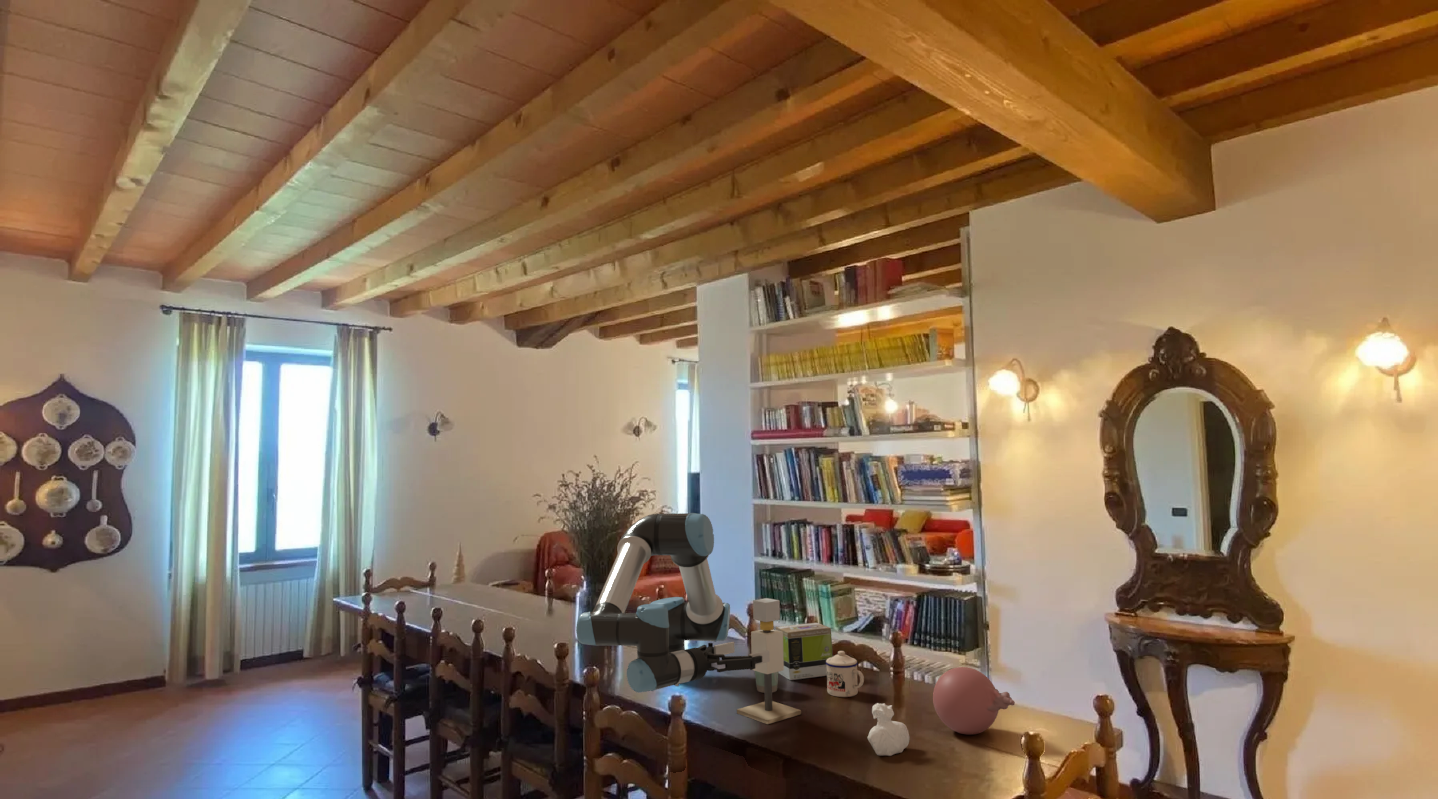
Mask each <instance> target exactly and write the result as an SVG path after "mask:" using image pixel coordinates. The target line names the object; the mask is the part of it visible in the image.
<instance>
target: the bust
mask: <svg viewBox="0 0 1438 799" xmlns="http://www.w3.org/2000/svg"><path fill="white" fill-rule="evenodd" d="M871 714H872V716H873V719H874V720H875V719H877V721H876V722H877V723H876V725H874V726H873V727H872V728H871V729H870V730H869V733H868V736H867V740H868V742H869V743H870V745H871V747H872V749H873V750H874V752H875V754H876V755H877V756H881V757H882V756H888V757H891V756H893V755H895V754H896V755H897V754H899V753H903V751H904V749H906V748H907V747H908V745H909V743H910V734H909V731H910V730H909V729H908V728H907V725H906V724H904V722H900V721H895V720H892V719H893V717H894V715H895V712H894V710H893V704H892V705H887V704H886V703H880V702H876V703H875V704H873V705H872V708H871Z"/></svg>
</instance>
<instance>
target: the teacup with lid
mask: <svg viewBox="0 0 1438 799" xmlns="http://www.w3.org/2000/svg"><path fill="white" fill-rule="evenodd" d="M832 656H833V657H831V658H828V659H827V660H826V664H827V676H826V687H827V688H826V691H827V694H828V695H831V696H833V697H837V698H839V697H840V698H848V697H849V698H850V697H855V696H856V695H857V694H858V692H859V691H858V689H859V688H861V687H863V684H864V681H865V677H864V674H863V673H862V671H860V670H858V664H859V663H858V660H857V659H856V658H853V657H851V656H849V655H847V654H846V652H845V651H844V650H839V651H837V654H835V655H832ZM858 676H859V682H858Z"/></svg>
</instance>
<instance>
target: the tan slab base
mask: <svg viewBox="0 0 1438 799" xmlns="http://www.w3.org/2000/svg"><path fill="white" fill-rule="evenodd" d="M736 714H737V715H741V716H743V717H746V718H748V719H752V720H755V721H757V722H760V723H763V724H766V725H769V724H773V723H776V722H780V721H783V720H786V719H787V720H788V719H790V718H793V717H796V716H800V715H802V710H801V709H798V708H795V707H792V706H789V705H786V704H782V703H779V702H778V701H777V702H776V701H774V700H772V711H766V710H765V701H762V702H757V703H755V704H751V705H748V706H744V707H741V708H737V709H736Z"/></svg>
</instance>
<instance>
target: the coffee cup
mask: <svg viewBox="0 0 1438 799" xmlns="http://www.w3.org/2000/svg"><path fill="white" fill-rule="evenodd" d="M754 675H755V684H756V691H757V692H759V693H764V694H765V691H764V673H761V672H757V671H754ZM778 681H779V673H778V672H775V673H772V693H776V692H777V690H778Z"/></svg>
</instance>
